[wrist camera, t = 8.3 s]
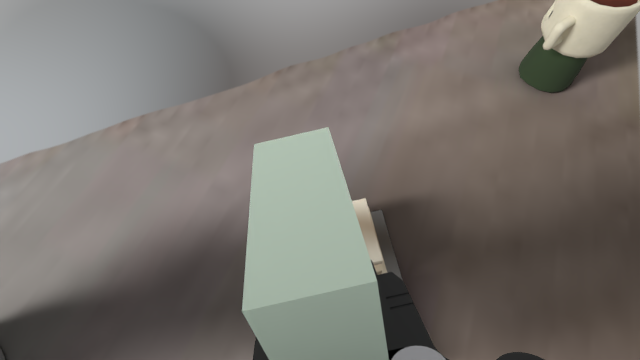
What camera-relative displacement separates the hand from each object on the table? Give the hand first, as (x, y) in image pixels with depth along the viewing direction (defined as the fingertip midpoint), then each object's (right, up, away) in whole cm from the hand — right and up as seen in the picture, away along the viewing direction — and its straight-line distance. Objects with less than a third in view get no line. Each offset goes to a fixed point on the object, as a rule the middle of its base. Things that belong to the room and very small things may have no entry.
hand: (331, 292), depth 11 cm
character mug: (+28, +17, +33) cm, 46 cm away
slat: (+3, -11, +6) cm, 13 cm away
